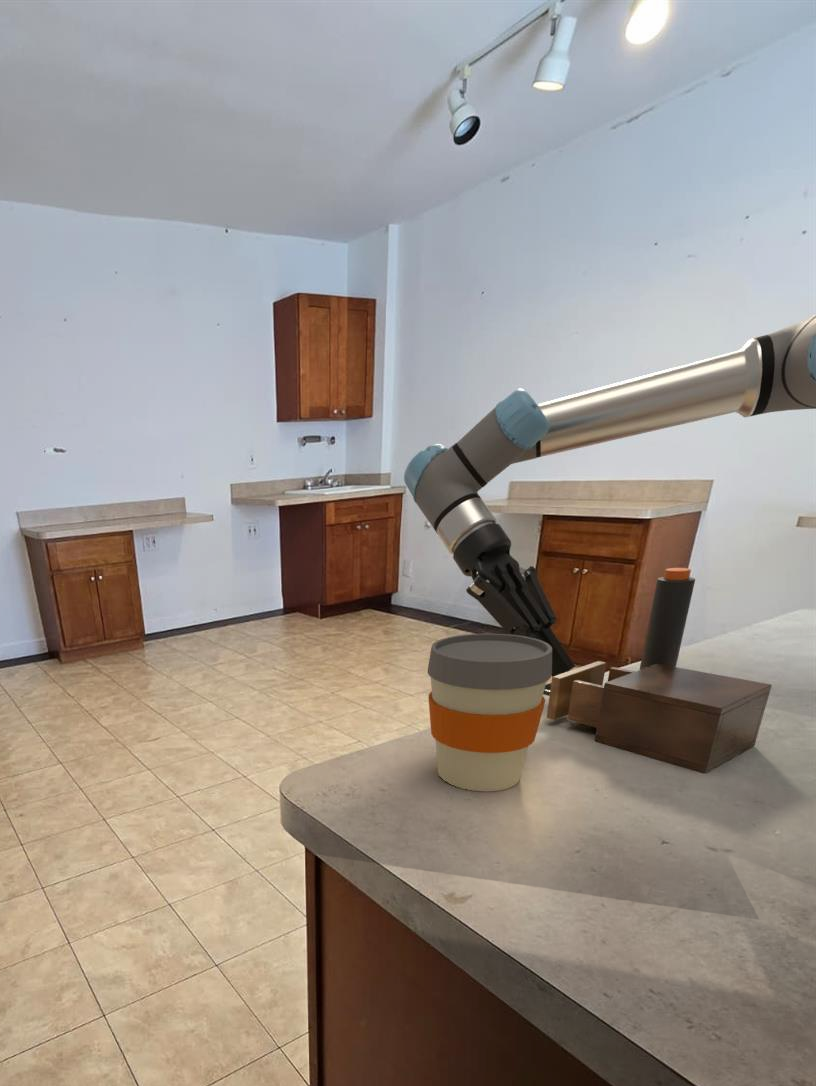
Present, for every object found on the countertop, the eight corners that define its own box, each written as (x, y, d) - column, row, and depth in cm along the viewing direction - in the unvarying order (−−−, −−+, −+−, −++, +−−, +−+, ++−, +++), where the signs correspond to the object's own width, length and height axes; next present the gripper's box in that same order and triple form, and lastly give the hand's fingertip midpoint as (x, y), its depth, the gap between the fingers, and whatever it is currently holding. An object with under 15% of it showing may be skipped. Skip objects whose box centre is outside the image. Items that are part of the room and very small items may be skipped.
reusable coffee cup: (415, 792, 71) (421, 660, 65) (428, 748, 81) (435, 632, 75) (538, 805, 66) (558, 665, 60) (536, 757, 77) (552, 634, 70)
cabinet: (594, 740, 80) (604, 682, 77) (644, 718, 85) (656, 663, 82) (705, 773, 70) (722, 708, 67) (754, 746, 75) (772, 684, 72)
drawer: (520, 711, 88) (525, 670, 86) (565, 694, 93) (571, 655, 91) (633, 742, 76) (642, 696, 74) (678, 721, 81) (688, 678, 79)
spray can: (665, 696, 92) (693, 566, 85) (674, 707, 88) (705, 571, 81) (627, 695, 94) (652, 567, 86) (635, 705, 90) (661, 572, 82)
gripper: (487, 552, 99) (572, 677, 93) (428, 563, 93) (514, 697, 87) (521, 516, 93) (614, 647, 87) (459, 525, 87) (555, 667, 81)
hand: (564, 672), depth 87 cm, fingers closed
